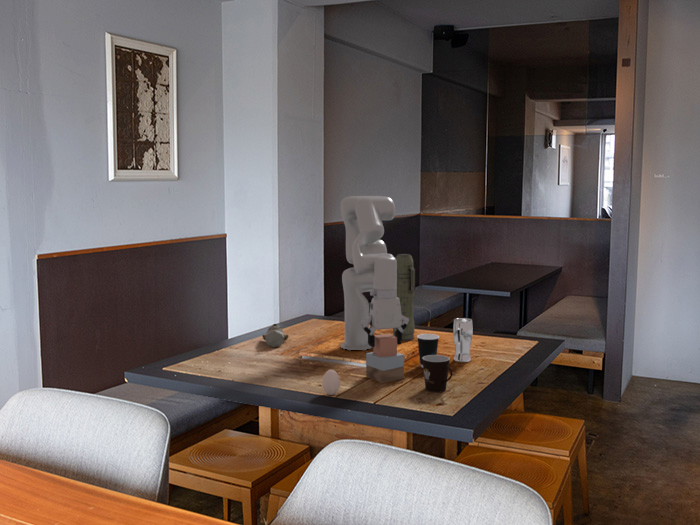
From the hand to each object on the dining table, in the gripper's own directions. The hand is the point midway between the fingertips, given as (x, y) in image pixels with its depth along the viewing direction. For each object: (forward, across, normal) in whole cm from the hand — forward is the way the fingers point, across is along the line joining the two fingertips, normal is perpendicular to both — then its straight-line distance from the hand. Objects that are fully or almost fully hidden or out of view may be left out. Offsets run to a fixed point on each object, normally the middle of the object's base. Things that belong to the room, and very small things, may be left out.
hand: (385, 344), depth 237 cm
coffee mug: (+12, +9, -19) cm, 24 cm away
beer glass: (+12, +36, +10) cm, 39 cm away
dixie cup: (+12, +20, +7) cm, 24 cm away
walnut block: (+12, 0, 0) cm, 12 cm away
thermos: (+12, +32, +50) cm, 60 cm away
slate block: (+7, 0, 0) cm, 7 cm away
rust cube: (+3, 0, 0) cm, 3 cm away
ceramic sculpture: (+12, -20, +61) cm, 65 cm away
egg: (+12, -23, -10) cm, 28 cm away
